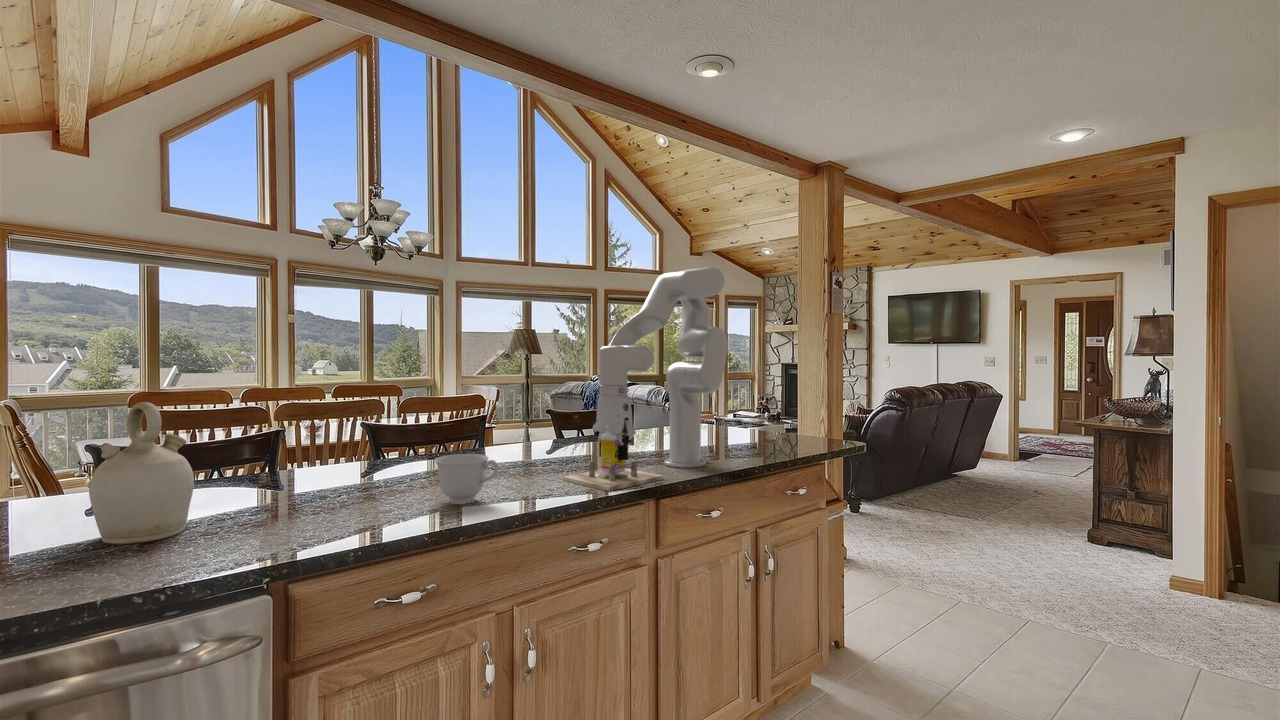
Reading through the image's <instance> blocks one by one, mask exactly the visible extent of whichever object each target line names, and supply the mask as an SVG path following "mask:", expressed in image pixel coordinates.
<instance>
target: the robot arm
mask: <svg viewBox="0 0 1280 720" xmlns="http://www.w3.org/2000/svg"><path fill="white" fill-rule="evenodd" d="M725 279H726V278H725V275H724V273H723V272H722V271H721V269H720V268H718V267H715V266H707V267H701V268H688V269H683V270H679V271H670V272H665V273H662V274H660V275H659V276H658V277H657V278H656V279H655V281H654V283H653V286H652V287H651V289H650V291H649V293H648V295H647V296H646V298H645V301H644V303H643V304H642V307H641V309H640V310H639V311H638V312H637V313H636V314H635V315H633V316H632V317H631V318H630V319H628V320H627V321H626V322H625V323H624V324H623V325H622V326H621V327H619V329H618V330H617V331H616V333H615V334H614V336H613V338H612V339H611V341H610V343H609V345H603V346H601V347H600V348H599V351H598V353H599V355H598V359H599V360H598V366H599V367H598V368H599V370H598V371H599V375H598V377H599V381H598V382H599V385H598V386H599V388H598V389H599V391H598V392H599V395H598V400H597V406H596V416H595V417H596V418H595V419H596V420H595V423H594V424H593V425H592V429H593V431H594V433H595V436H596V437H597V442H598V443H599V445H598V446H599V447H598V452H599V454H598V456H599V457H600V458H601V435H602V434H603V433H605V432H606V431H609V432H610V433H611V434H615V435H617V437H618V441H619V444H620V445H618V460H628V459H629V445H630V444H631V441H632V440H633V438H634V436H635V434H636V433H637V432H636V430H635V428H634V424H633V410H632V404H631V399H630V396H628V393H629V391H630V390H629V388H628V373H629V372H630V373H643V372H647V371H648V370H649V369H651V368H652V366H653V365H654V361H655V355H654V353H653V351H652V350H651V348H649V347H648V346H646V345H642V344H641V345H640V344H637V342H639V341H640V340H642V339H643V338H645V337H647V336H649V335H652V334H653V333H655V332H658V331H659V330H661V329H663V328H664V327H665V326H666V325H667V324H668V322H669V319H670V318H671V316H672V313H673V311H674V309H675V307H676V305H677V304H678V302H679V301H680V304H681V306H682V318H681V325H680V329H679V336H678V340H677V351H678V354H679V355H681V356H682V357H685V358H689V359H690V358H691V359H702V360H701V361H700V360H698V361H697V360H678V361H675V362H673V363H671V364H670V365H669V366H668V368H667V370H666V375H665V377H666V385H667V391H668V398H669V399H668V401H669V457H668V458H666V459H664V461H663V462H664V465H666V466H668V467H671V468H687V469H690V468H700V467H704V466H705V465H706V464H707V462H706V460H705V459H703V457H705V456H708V455H709V454H710V450H709V449H708V448H704V449H703V448H702V447H701V446H702V445H701V443H702V442H701V440H702V439H701V437H702V434H701V433H702V431H701V430H702V428H701V427H702V425H701V424H702V421H701V419H702V418H701V417H702V416H701V415H702V407H701V403H700V400H699V397H698V396H697V394H713V393H716V392H717V391H718V390H719V389H720V386H721V385H722V381H723V377H724V372H725V366H726V360H727V355H728V350H729V349H728V347H729V346H728V345H729V342H728V337H727V336H728V335H727V334H726V332H725V331H724V330H723V329H722V328H721V327H717V326H710V320H711V311H710V308H709V306H708V304H707V302H706V301H705V299H704V298H709V297H713V296H714V297H715V296H718V295H719V294H721V292H722V291H723V289H724V286H725ZM606 425H608V427H609V430H607V429H606V428H605V427H606ZM622 436H624V439H623V438H622Z"/></svg>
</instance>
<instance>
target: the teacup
mask: <svg viewBox="0 0 1280 720" xmlns="http://www.w3.org/2000/svg"><path fill="white" fill-rule="evenodd" d="M433 461H434V463H436V466H437V470H438V471H437V472H438V479H439V485H440V490H441V492H442V494H443V495H445V496H446V497H448V498H449V499H448V503H449V504H450V505H467V504H466V503H468V504H471V502H472V503H474V502H475V501H476V500H475V496H476V495H478V493H480V492H481V490H482V488H483V485H484V484H485V483H486V482H488V481H490V480H493V479H495V478H496V477H497V475H498V474H499V473H498V472H499V464H498V463H497V461H496V460H494V459H489V456H488V455H485V454H478V453H456V454H447V455H441V456H438V457H435V458H434V460H433ZM490 465H491V466H492V467H493V472H492V474H491V475H489V476H487V477H485V478H484V475H485V470H486V471H487V470H488V469H489V466H490Z"/></svg>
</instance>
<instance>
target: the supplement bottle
mask: <svg viewBox="0 0 1280 720" xmlns="http://www.w3.org/2000/svg"><path fill="white" fill-rule="evenodd" d="M605 428H606V429H607V430H609V427H608V425H606V427H605ZM622 438H623V439H624V436H622ZM618 445H620V444H619V441H618V437H617V435H615V434H611V433H610V432H609V431H606V432H605V433H603V434H602V435H601V457H600V470H602V471H603V472H607V473H609V465H615V473H619V472H623V471H625V468H626V463H627V462H626V460H627V459H626V460H618Z"/></svg>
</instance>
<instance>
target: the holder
mask: <svg viewBox="0 0 1280 720" xmlns="http://www.w3.org/2000/svg"><path fill="white" fill-rule="evenodd" d="M663 478H664V476H663V475H661V474H657V473H656V474H655V473H650V472H646V471H640V470H638V461H637V460H630V468H626V467H625V471H623V472H619V473H615V465H609V473H607V472H603V471H602V470H601V469H597V470H596V461H595V460H589V461H588V471H587V472H581V473H576V474H570V475H565V476H562V481H564V482H567V483H572V484H576V485H581V486H583V487H589V488H593V489H598V490H601V491H606V492H612V491H615V490H621V489H625V488H629V487H634V486H638V485H644V484H647V483H652V482H656V481H661V480H664V479H663Z"/></svg>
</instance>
